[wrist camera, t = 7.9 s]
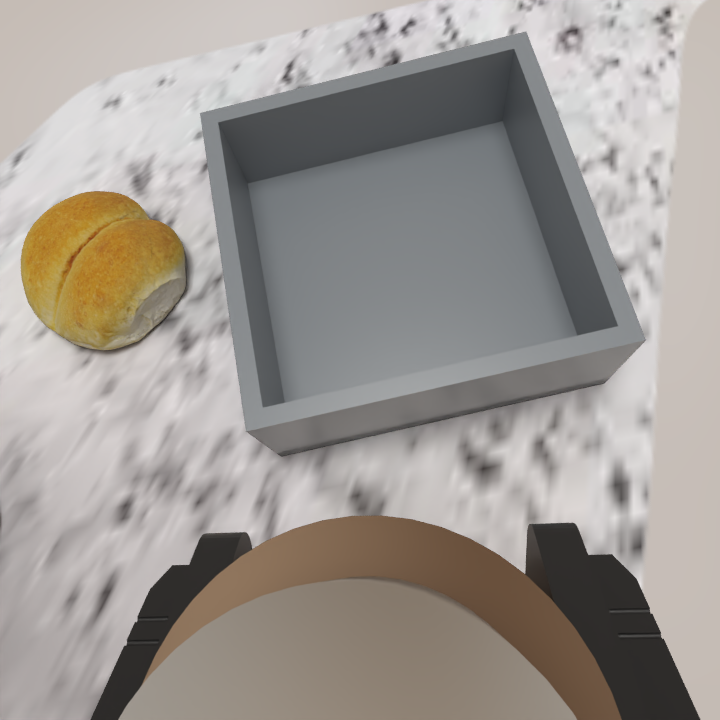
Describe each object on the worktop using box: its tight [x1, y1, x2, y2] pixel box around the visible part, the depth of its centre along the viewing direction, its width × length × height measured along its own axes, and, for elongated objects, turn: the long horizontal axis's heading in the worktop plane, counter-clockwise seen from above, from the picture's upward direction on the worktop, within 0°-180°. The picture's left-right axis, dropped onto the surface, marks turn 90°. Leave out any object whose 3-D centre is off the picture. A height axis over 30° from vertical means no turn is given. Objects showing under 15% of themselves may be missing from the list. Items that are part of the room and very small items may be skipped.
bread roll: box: [21, 191, 186, 350], centre depth 33 cm, size 8×9×4 cm
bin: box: [200, 32, 646, 456], centre depth 30 cm, size 16×16×6 cm
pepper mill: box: [118, 516, 622, 720], centre depth 9 cm, size 5×5×12 cm
